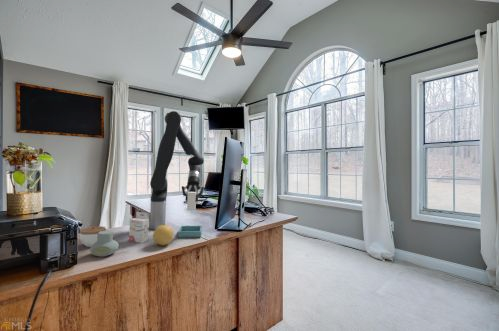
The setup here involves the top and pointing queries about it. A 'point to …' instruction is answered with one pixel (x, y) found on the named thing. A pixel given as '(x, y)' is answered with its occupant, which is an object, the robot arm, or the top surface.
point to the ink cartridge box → (139, 228)
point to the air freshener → (104, 244)
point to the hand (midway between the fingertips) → (191, 201)
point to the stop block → (191, 201)
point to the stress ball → (163, 235)
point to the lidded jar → (90, 235)
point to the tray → (189, 231)
